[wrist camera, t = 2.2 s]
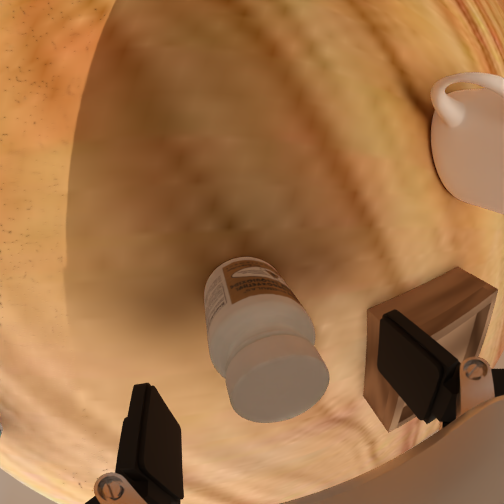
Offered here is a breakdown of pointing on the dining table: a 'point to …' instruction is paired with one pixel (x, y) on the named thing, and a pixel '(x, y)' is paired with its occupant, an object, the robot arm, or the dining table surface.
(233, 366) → the pill bottle
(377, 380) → the walnut box
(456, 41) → the dining table surface
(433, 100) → the mug
